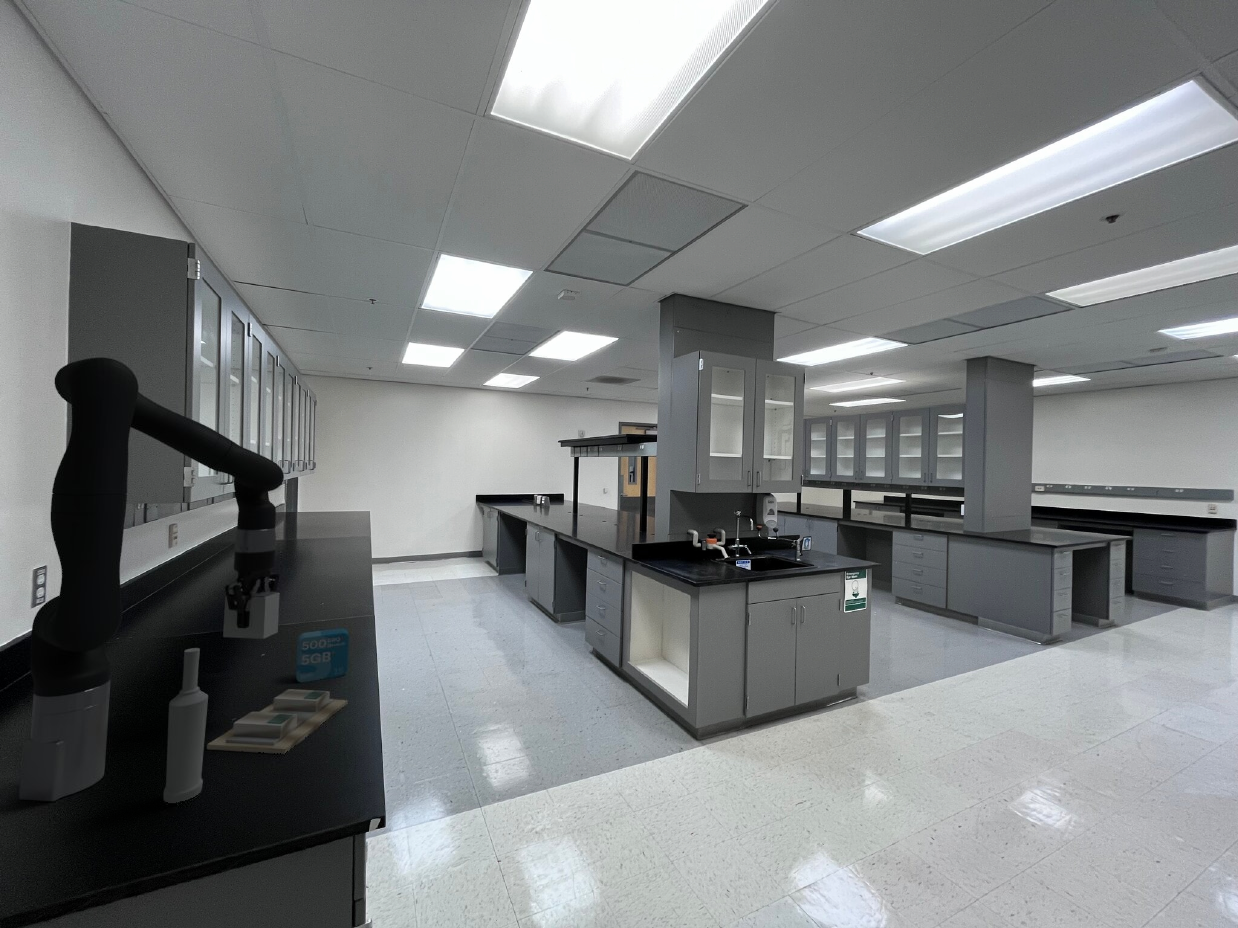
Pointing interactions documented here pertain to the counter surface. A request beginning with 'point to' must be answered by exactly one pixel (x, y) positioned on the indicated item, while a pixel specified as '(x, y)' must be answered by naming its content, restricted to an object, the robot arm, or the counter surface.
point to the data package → (322, 655)
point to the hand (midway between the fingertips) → (251, 623)
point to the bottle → (186, 735)
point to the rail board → (280, 723)
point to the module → (254, 617)
